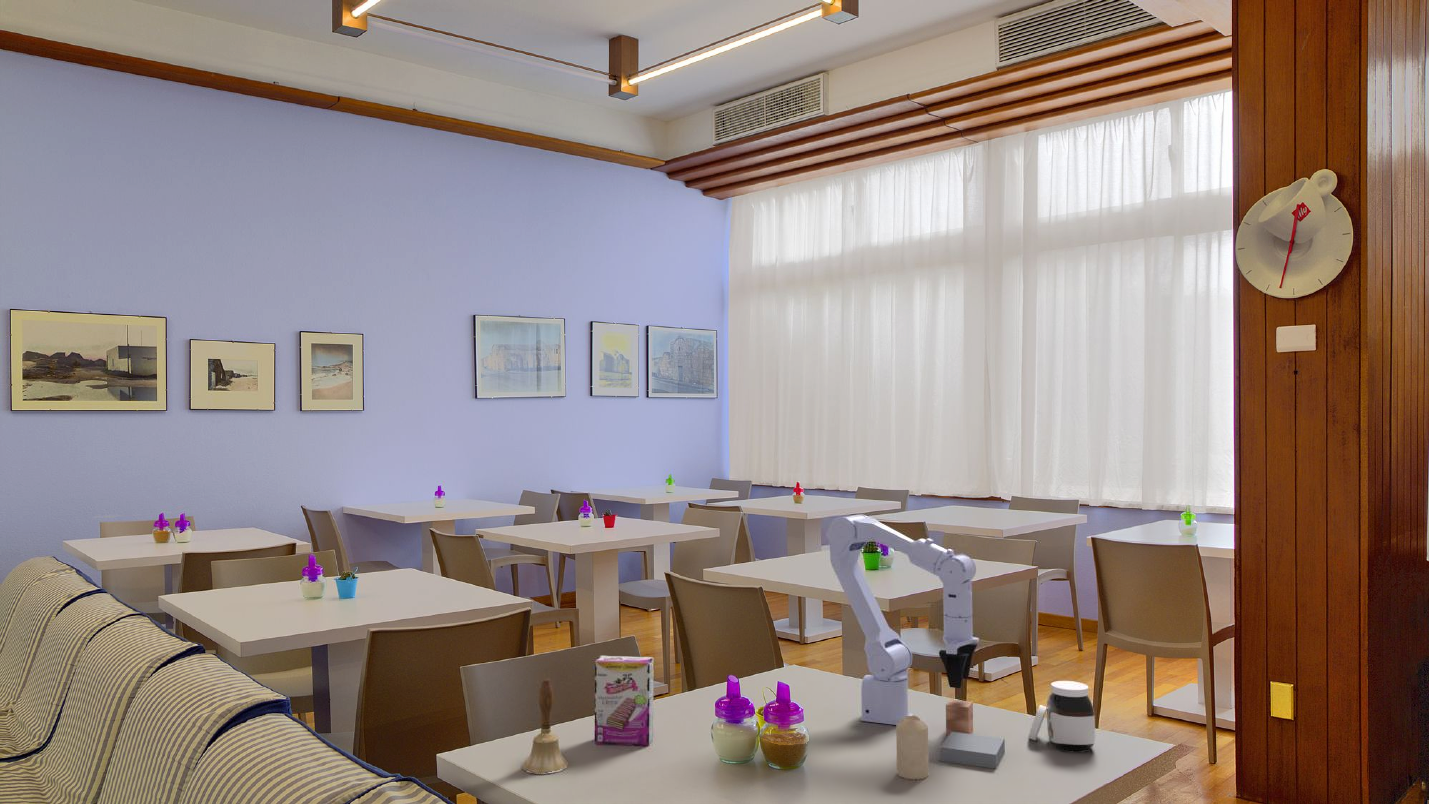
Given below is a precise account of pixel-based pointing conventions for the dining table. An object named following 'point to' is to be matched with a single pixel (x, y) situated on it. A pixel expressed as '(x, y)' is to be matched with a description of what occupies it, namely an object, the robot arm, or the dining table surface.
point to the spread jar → (1067, 717)
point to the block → (959, 716)
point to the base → (972, 749)
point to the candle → (912, 748)
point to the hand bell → (545, 739)
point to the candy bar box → (624, 700)
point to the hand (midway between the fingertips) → (959, 682)
